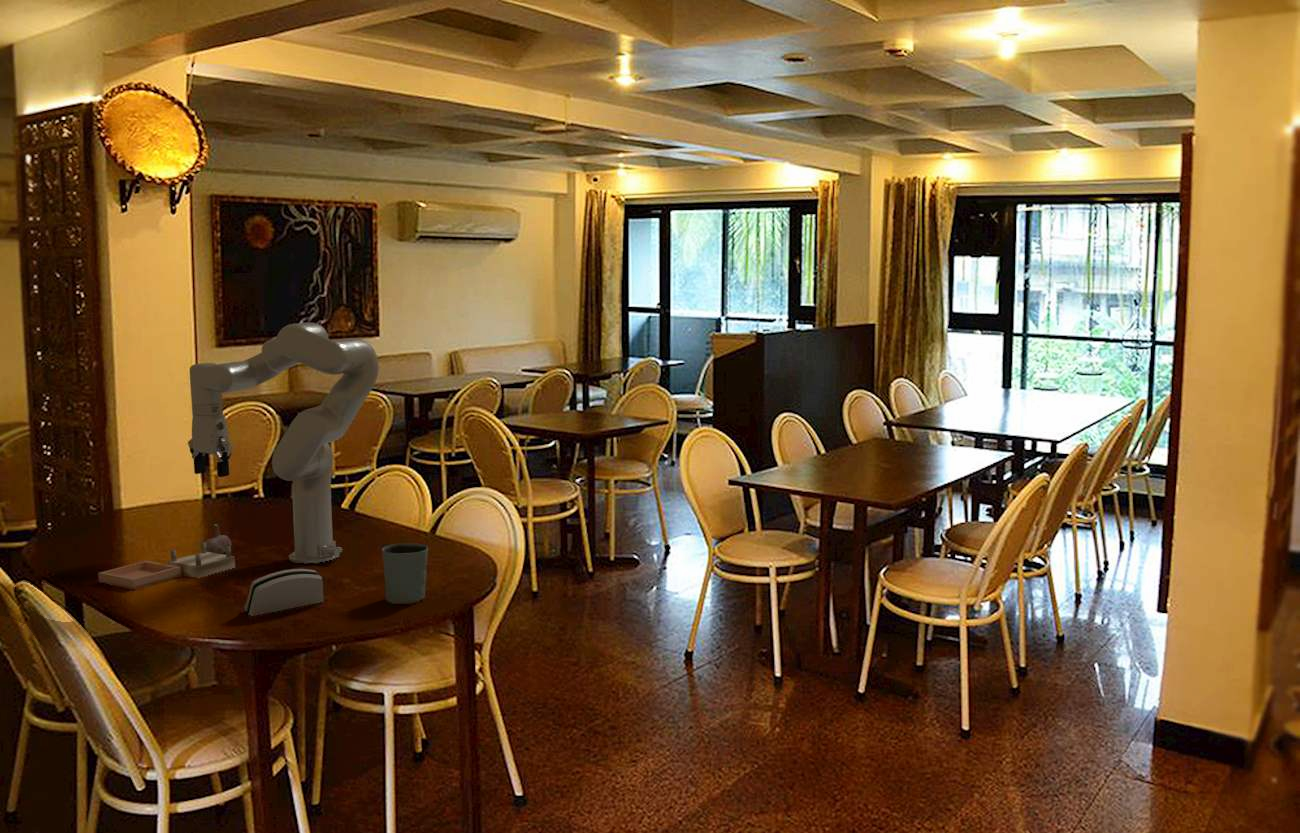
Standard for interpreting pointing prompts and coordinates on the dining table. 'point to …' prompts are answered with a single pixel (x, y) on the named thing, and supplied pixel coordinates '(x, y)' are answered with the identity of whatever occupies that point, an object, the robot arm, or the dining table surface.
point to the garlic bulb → (218, 542)
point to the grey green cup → (405, 572)
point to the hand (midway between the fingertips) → (211, 474)
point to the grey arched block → (284, 591)
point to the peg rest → (203, 562)
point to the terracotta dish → (139, 574)
